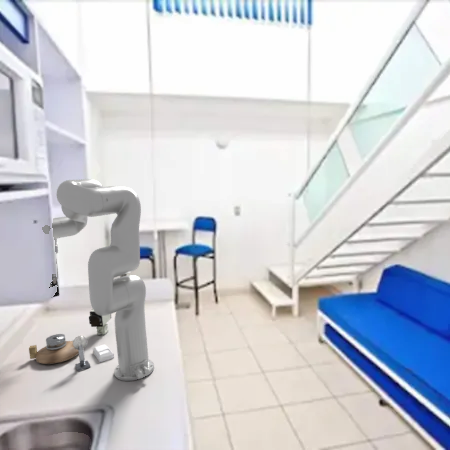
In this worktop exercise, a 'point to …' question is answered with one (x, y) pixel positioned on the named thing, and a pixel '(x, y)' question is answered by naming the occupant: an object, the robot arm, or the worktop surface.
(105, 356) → the white switch plate
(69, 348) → the turntable
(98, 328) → the pneumatic valve
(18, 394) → the worktop surface
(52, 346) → the cover
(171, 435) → the worktop surface
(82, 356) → the gauge post
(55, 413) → the worktop surface
